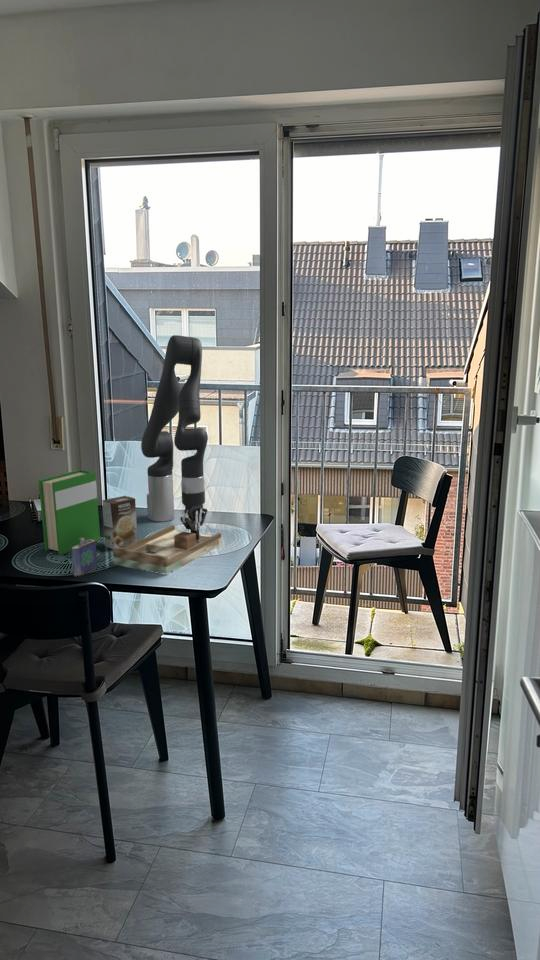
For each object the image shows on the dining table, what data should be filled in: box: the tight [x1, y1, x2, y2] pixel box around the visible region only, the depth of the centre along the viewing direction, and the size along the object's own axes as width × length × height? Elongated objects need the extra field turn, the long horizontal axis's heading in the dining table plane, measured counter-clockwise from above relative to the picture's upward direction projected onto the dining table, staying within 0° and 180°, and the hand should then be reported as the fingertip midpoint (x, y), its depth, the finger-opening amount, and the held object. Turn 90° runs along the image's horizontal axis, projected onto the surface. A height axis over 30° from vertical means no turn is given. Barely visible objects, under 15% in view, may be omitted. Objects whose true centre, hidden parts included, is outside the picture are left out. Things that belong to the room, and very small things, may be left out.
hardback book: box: [38, 469, 101, 555], centre depth 230 cm, size 18×7×24 cm, turn 147°
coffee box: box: [102, 495, 138, 550], centre depth 230 cm, size 9×6×16 cm
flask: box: [71, 538, 98, 577], centre depth 208 cm, size 9×3×11 cm, turn 151°
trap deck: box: [112, 524, 222, 574], centre depth 222 cm, size 20×31×6 cm, turn 152°
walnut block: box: [174, 531, 197, 550], centre depth 222 cm, size 5×5×4 cm
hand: (195, 540), depth 227 cm, fingers closed
